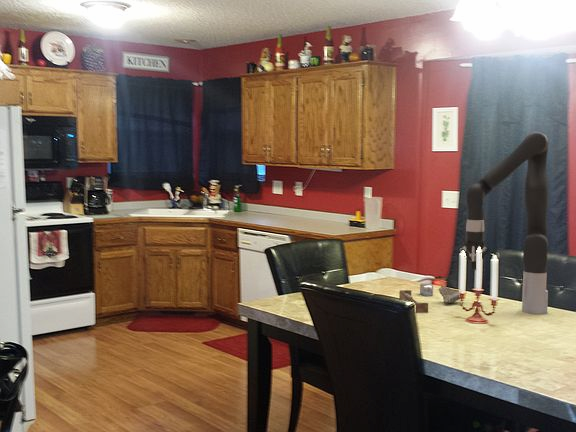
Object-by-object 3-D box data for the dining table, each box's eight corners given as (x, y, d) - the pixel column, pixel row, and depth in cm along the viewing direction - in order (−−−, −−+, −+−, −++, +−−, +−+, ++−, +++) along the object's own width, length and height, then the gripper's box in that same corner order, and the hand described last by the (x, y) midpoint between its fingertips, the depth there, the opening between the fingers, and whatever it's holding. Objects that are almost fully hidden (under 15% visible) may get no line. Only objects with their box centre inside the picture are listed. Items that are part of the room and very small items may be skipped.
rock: (445, 300, 290) (436, 286, 298) (444, 310, 293) (435, 296, 301) (469, 295, 291) (459, 281, 300) (468, 306, 295) (458, 291, 303)
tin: (427, 293, 317) (427, 283, 316) (435, 296, 311) (435, 285, 311) (417, 294, 314) (417, 284, 314) (424, 297, 309) (425, 286, 308)
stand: (410, 298, 305) (410, 288, 304) (428, 312, 278) (428, 301, 277) (399, 299, 304) (399, 289, 304) (415, 313, 277) (416, 302, 277)
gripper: (486, 229, 295) (485, 268, 296) (457, 229, 293) (456, 268, 295) (493, 231, 287) (491, 271, 289) (463, 231, 286) (461, 271, 288)
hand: (473, 269), depth 292 cm, fingers closed
